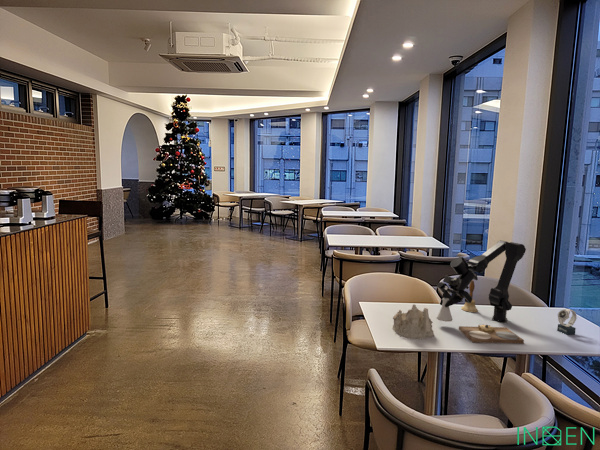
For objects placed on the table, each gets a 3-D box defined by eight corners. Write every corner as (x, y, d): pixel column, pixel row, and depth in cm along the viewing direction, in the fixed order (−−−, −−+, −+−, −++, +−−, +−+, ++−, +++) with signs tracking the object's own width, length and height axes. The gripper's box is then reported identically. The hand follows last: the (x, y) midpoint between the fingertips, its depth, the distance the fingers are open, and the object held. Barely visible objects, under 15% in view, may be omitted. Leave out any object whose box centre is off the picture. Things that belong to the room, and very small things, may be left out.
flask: (453, 322, 193) (455, 301, 191) (437, 321, 194) (438, 300, 193) (451, 317, 200) (452, 297, 198) (435, 316, 201) (436, 295, 200)
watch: (553, 330, 196) (556, 308, 194) (568, 329, 198) (570, 307, 196) (563, 335, 190) (566, 311, 189) (578, 334, 192) (581, 311, 191)
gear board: (458, 329, 194) (459, 321, 193) (506, 330, 194) (506, 322, 194) (472, 342, 179) (473, 334, 179) (523, 343, 179) (524, 335, 179)
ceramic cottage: (438, 337, 183) (438, 303, 182) (404, 341, 180) (403, 306, 179) (420, 326, 198) (420, 295, 197) (388, 330, 195) (388, 298, 194)
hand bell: (475, 308, 227) (478, 279, 225) (479, 313, 219) (482, 283, 217) (459, 306, 228) (461, 278, 226) (463, 311, 220) (465, 282, 218)
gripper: (441, 265, 204) (420, 289, 201) (469, 274, 187) (447, 300, 184) (453, 280, 208) (433, 303, 205) (481, 290, 190) (460, 316, 188)
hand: (442, 305), depth 195 cm, fingers closed on flask, 3 cm apart
